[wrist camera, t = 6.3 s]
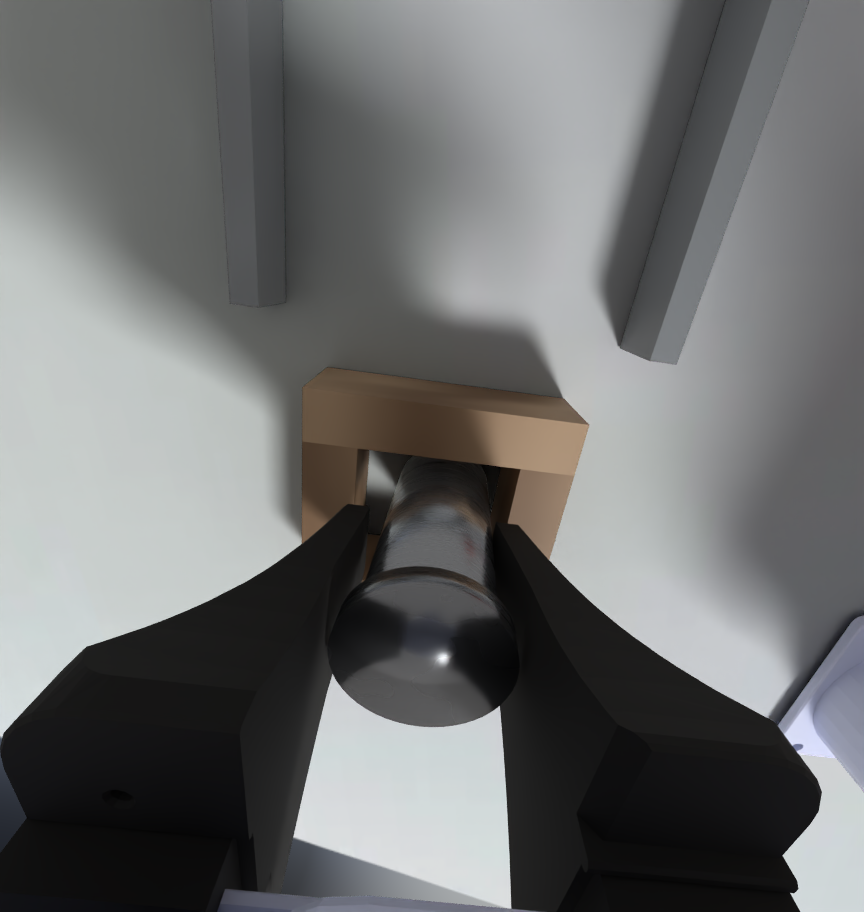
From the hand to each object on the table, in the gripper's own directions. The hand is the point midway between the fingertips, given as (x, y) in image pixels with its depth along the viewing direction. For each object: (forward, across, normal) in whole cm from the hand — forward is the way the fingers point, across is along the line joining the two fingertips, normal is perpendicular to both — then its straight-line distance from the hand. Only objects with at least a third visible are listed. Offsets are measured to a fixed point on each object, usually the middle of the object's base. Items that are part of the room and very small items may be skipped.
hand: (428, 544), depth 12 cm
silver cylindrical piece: (+3, 0, 0) cm, 3 cm away
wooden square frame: (+3, 0, 0) cm, 3 cm away
